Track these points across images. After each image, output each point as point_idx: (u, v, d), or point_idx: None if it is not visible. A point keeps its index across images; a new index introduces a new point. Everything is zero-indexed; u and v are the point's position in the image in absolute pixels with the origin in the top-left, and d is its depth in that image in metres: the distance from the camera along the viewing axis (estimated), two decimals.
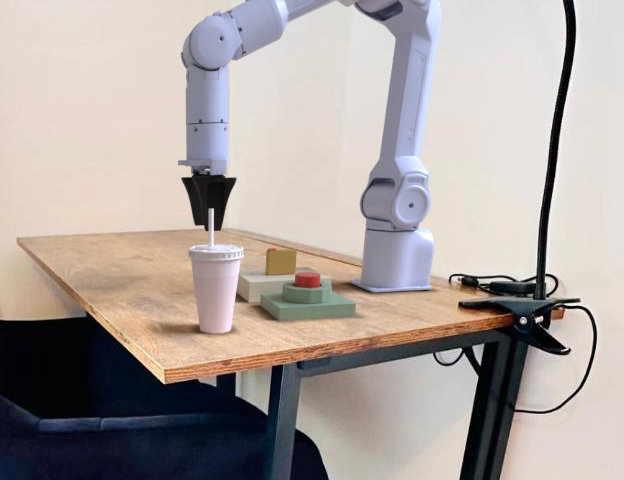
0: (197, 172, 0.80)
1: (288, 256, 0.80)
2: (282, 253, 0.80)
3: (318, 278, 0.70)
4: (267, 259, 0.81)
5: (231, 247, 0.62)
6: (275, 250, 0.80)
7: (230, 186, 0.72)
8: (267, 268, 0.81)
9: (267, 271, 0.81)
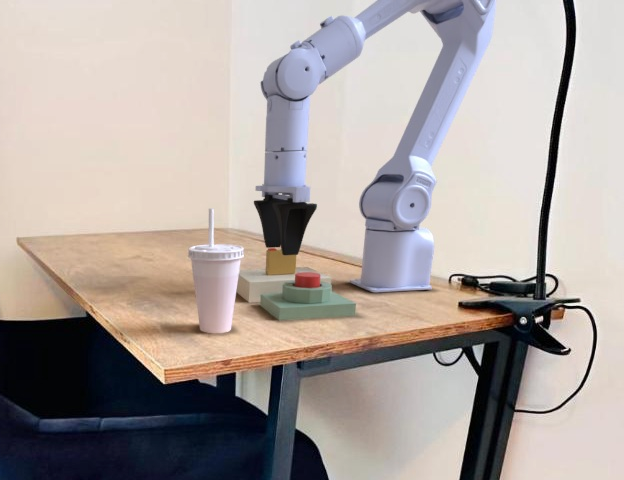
0: (270, 196, 0.82)
1: (288, 256, 0.80)
2: None
3: (318, 278, 0.70)
4: (267, 259, 0.81)
5: (231, 247, 0.62)
6: (275, 250, 0.80)
7: (311, 212, 0.74)
8: (267, 268, 0.81)
9: (267, 271, 0.81)
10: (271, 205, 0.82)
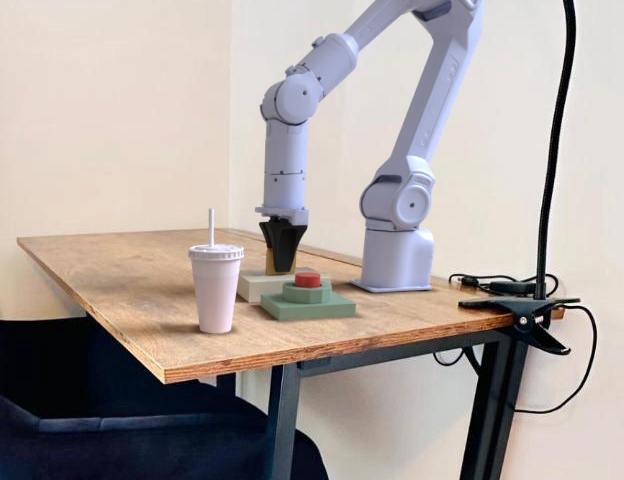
0: (276, 218, 0.80)
1: None
2: None
3: (318, 278, 0.70)
4: (267, 259, 0.81)
5: (231, 247, 0.62)
6: None
7: (302, 232, 0.77)
8: (267, 268, 0.81)
9: (267, 271, 0.81)
10: None
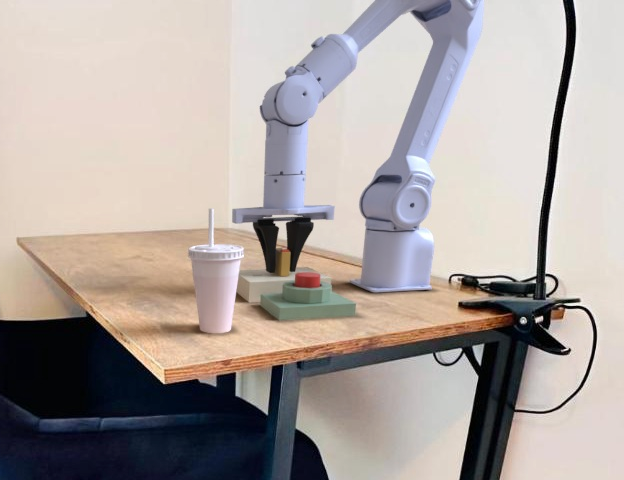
0: None
1: None
2: None
3: (318, 278, 0.70)
4: (286, 260, 0.79)
5: (231, 247, 0.62)
6: (287, 250, 0.80)
7: None
8: (286, 269, 0.80)
9: (286, 273, 0.80)
10: None
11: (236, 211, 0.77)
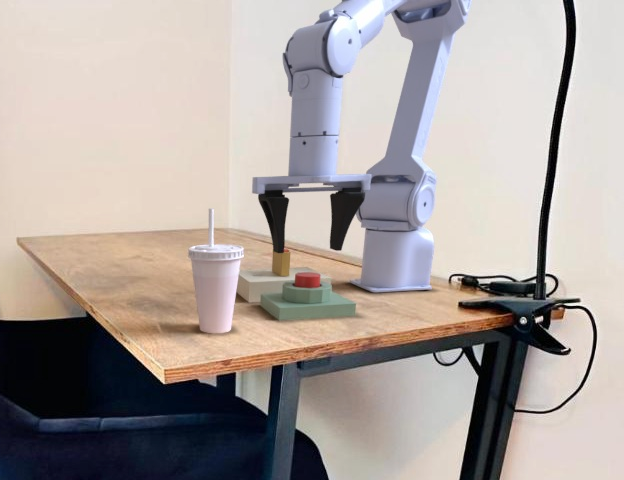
0: None
1: None
2: None
3: (318, 278, 0.70)
4: (286, 260, 0.79)
5: (231, 247, 0.62)
6: (287, 250, 0.80)
7: None
8: (286, 269, 0.80)
9: (286, 273, 0.80)
10: None
11: (257, 179, 0.66)
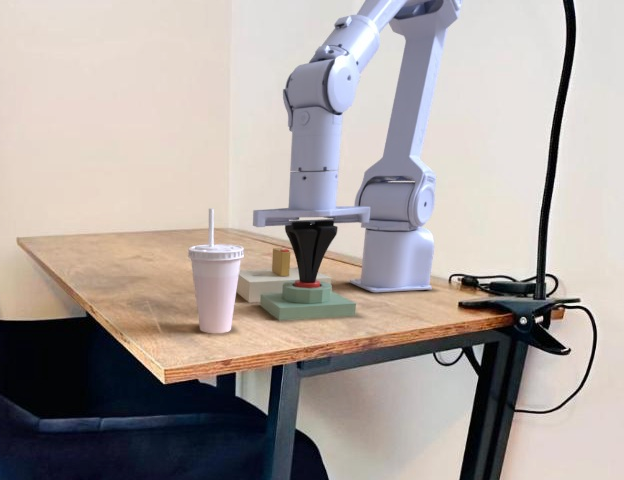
0: (309, 223, 0.69)
1: None
2: None
3: (318, 285, 0.71)
4: (286, 260, 0.79)
5: (231, 247, 0.62)
6: (287, 250, 0.80)
7: None
8: (286, 269, 0.80)
9: (286, 273, 0.80)
10: None
11: (258, 213, 0.67)
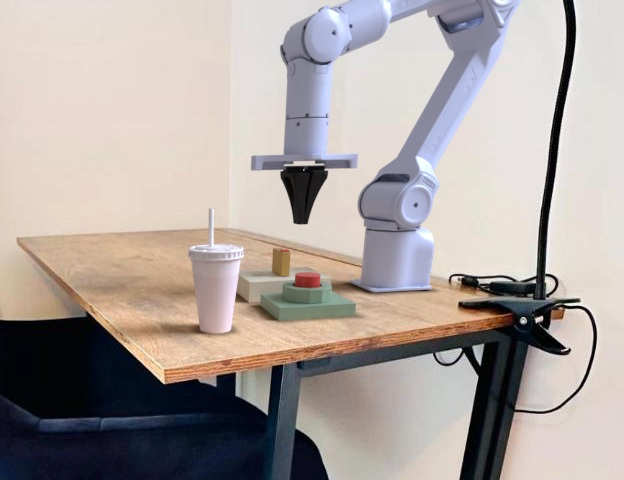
0: None
1: None
2: None
3: (318, 278, 0.70)
4: (286, 260, 0.79)
5: (231, 247, 0.62)
6: (287, 250, 0.80)
7: None
8: (286, 269, 0.80)
9: (286, 273, 0.80)
10: None
11: (256, 157, 0.73)
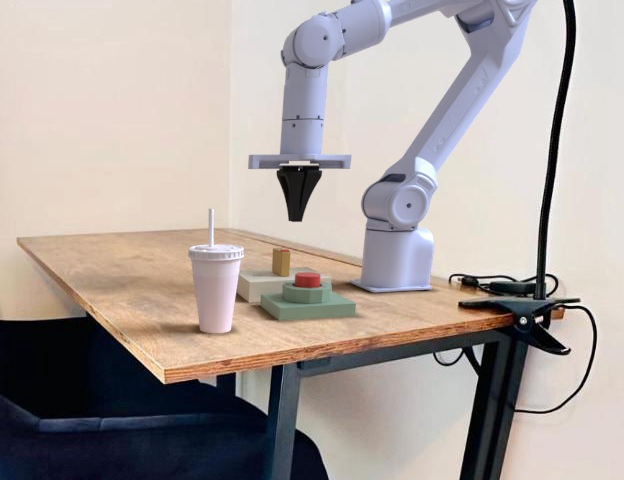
0: None
1: None
2: None
3: (318, 278, 0.70)
4: (286, 260, 0.79)
5: (231, 247, 0.62)
6: (287, 250, 0.80)
7: None
8: (286, 269, 0.80)
9: (286, 273, 0.80)
10: None
11: (253, 156, 0.76)
